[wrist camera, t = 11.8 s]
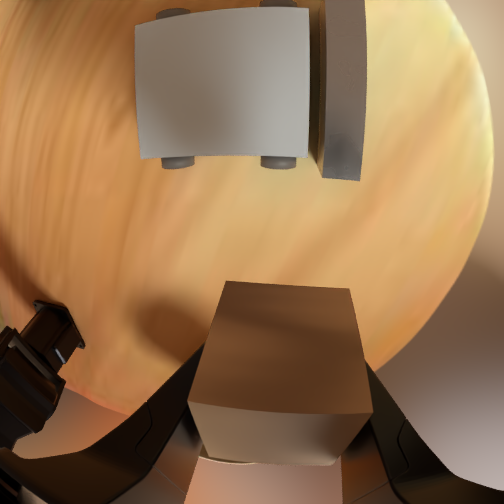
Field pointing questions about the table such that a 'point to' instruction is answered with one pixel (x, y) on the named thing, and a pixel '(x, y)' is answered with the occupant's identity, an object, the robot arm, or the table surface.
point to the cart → (224, 84)
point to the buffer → (342, 88)
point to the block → (281, 376)
